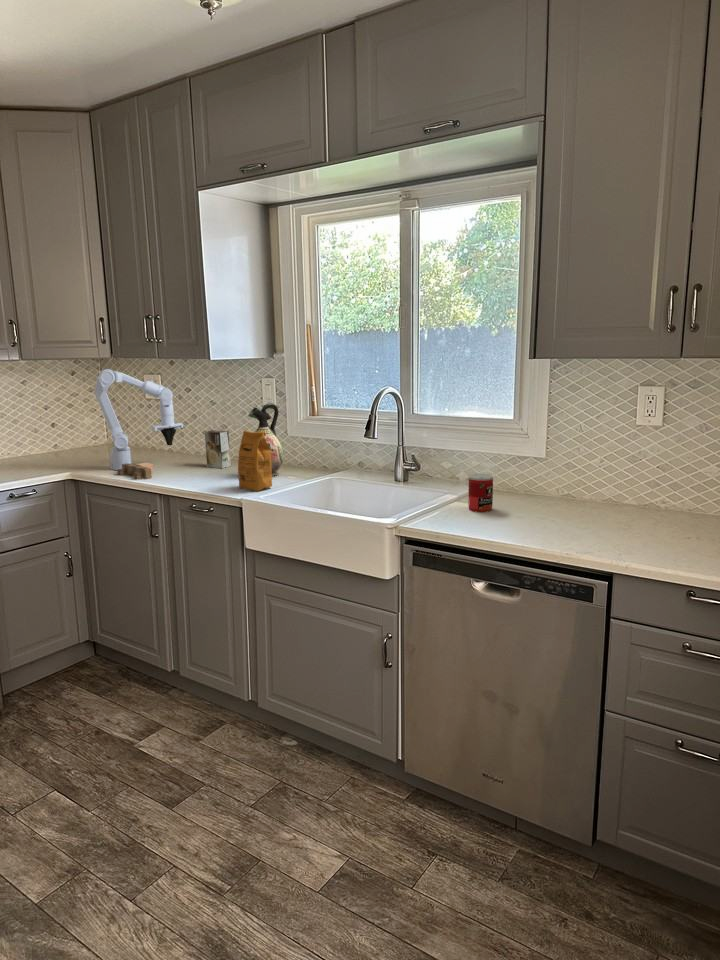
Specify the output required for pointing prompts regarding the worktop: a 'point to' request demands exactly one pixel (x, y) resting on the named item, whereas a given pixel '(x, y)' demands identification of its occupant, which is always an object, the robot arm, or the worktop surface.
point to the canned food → (480, 492)
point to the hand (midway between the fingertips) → (169, 445)
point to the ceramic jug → (269, 434)
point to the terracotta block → (146, 466)
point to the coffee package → (254, 462)
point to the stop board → (135, 471)
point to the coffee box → (217, 449)
